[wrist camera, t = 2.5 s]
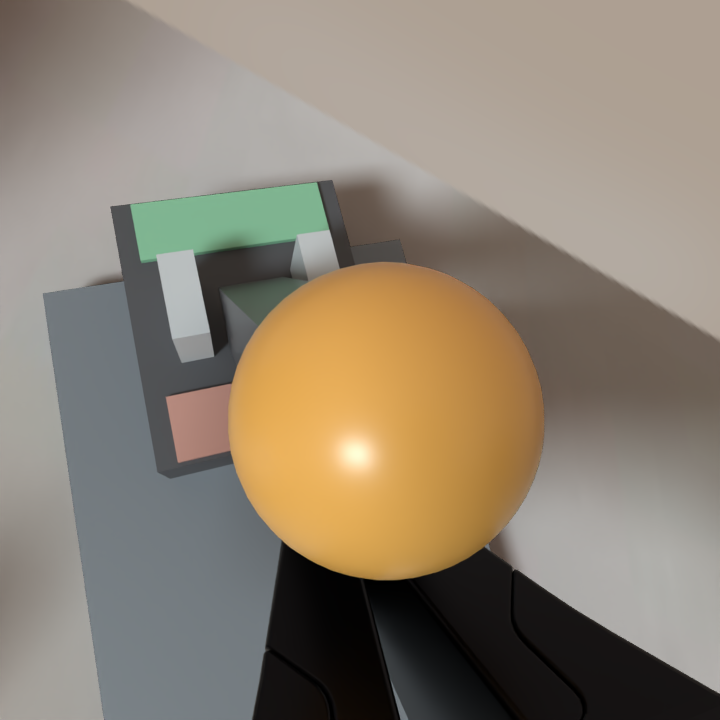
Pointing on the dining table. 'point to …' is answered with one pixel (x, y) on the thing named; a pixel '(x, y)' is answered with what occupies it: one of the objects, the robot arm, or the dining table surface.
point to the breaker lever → (380, 416)
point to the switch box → (178, 444)
